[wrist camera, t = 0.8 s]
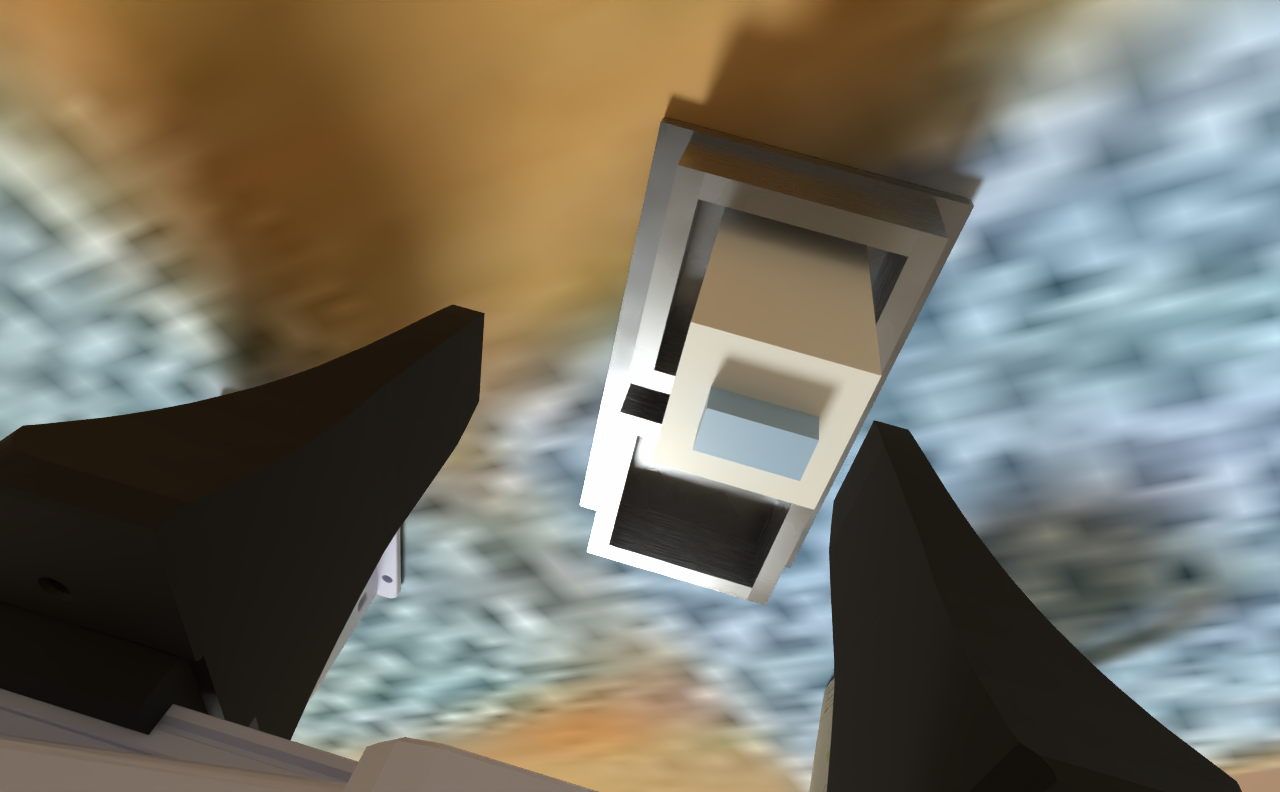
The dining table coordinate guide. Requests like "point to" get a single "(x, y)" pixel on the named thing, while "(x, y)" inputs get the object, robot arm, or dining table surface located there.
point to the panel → (658, 326)
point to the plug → (773, 361)
